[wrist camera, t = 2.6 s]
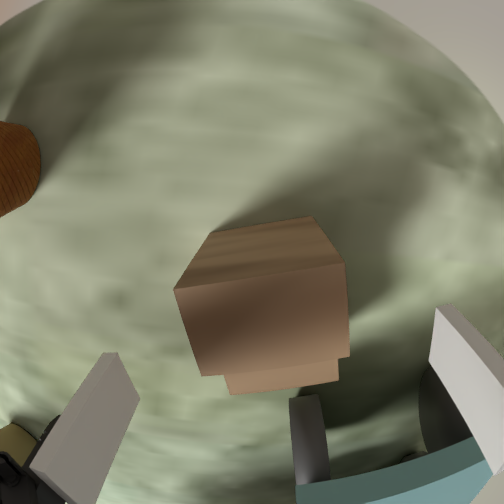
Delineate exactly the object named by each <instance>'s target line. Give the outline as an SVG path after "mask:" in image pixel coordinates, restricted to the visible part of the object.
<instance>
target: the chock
mask: <svg viewBox="0 0 504 504" xmlns="http://www.w3.org/2000/svg"><path fill="white" fill-rule="evenodd" d="M173 291H174V294H175V297H176V301H177V304H178V307H179V310H180V314H181V317H182V320H183V323H184V326H185V329H186V332H187V335H188V338H189V341H190V344H191V347H192V350H193V353H194V356H195V359H196V362H197V365H198V367H199V370H200V373H201V376H212V375H224V378H225V381H226V384H227V387H228V390H229V393H230V395H236V394H247V393H257V392H266V391H274V390H282V389H289V388H296V387H303V386H309V385H315V384H321V383H327V382H332V381H338V380H339V375H338V359H339V358H344V357H349V356H350V343H349V316H348V298H347V282H346V269H345V262H344V260H343V259H342V257H341V256H340V255H339V253H338V252H337V250H336V249H335V247H334V246H333V245H332V243H331V242H330V240H329V239H328V238H327V236H326V235H325V233H324V232H323V231H322V229H321V228H320V226H319V225H318V224H317V222H316V221H315V220H314V218H313V217H312V216H307V217H301V218H295V219H289V220H283V221H277V222H271V223H265V224H259V225H253V226H247V227H241V228H235V229H230V230H224V231H218V232H213V233H210V234H209V235H208V237H207V238H206V240H205V241H204V243H203V244H202V246H201V247H200V249H199V250H198V252H197V253H196V255H195V256H194V258H193V259H192V261H191V262H190V264H189V265H188V267H187V269H186V270H185V272H184V273H183V275H182V276H181V278H180V279H179V281H178V282H177V284H176V286H175V287H174V289H173Z"/></svg>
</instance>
